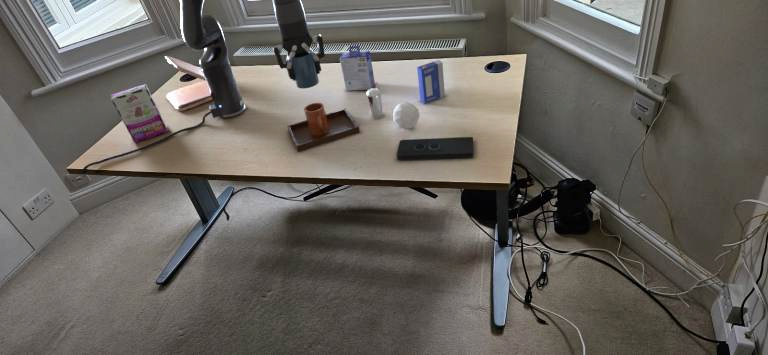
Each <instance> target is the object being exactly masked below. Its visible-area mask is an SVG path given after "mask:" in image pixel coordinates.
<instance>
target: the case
mask: <svg viewBox="0 0 768 355" xmlns="http://www.w3.org/2000/svg"><path fill="white" fill-rule="evenodd" d="M164 58H165V59H166V60H167V62H168V64H169V65H170V66H173V67H174V68H175V69H176V70H178V71H179V72H180V73H183V74H187V75H190V76H192V77H194V78H197V79H200V80H201V81H198V82H195V83H192V84H189V85H185V86H183V87H181V88H178V89H175V90H171V91H169V92H168V93H167V94H166V99H167V100H168V101H169V102H170V104H171V105H172V106H173V108H174V109H175V110H176V111H177V112H184V111H187V110H189V109H193V108H195V107H198V106H200V105H203V104H205V103H208V102H211V101H213V99H212V97H211V94H210V90H209V87H208V84H207V82H206V79H205V77H204V74H203V72H202V69H201V67H199V66H197V65H194V64H191V63H188V62H186V61H183V60H181V59H177V58H175V57H172V56H170V55H165V56H164Z"/></svg>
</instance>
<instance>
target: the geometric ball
mask: <svg viewBox="0 0 768 355" xmlns="http://www.w3.org/2000/svg"><path fill="white" fill-rule="evenodd" d="M392 119H393V123H394V124H395V125H396V126H397V127H398V128H401V129H404V130H409V129H413V128H414V127H415V126H416V125H417V124H418V123H419V119H420V111H419V108H418V107H417V106H416V105H415V104H414V103H411V102H408V101H404V102H400V103H398V104H397V105H396V106H395V107H394V108H393V111H392Z"/></svg>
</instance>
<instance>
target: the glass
mask: <svg viewBox="0 0 768 355" xmlns="http://www.w3.org/2000/svg"><path fill="white" fill-rule="evenodd" d="M289 56H290V55H289ZM291 67H292V68H293V72H294V76H295V79H296V80H295V81H294V82H295V85H296V87H297V88H299V89H310V88H313V87H315V86H317V85H319V83H320V79H319V74H317V70H316V66H315V62H314V59H313V56H312V54H311V53H310V54H309V53H308V52H307V53H306V54H304V55H299V56H297V57H295V56H294V58H292V66H291Z"/></svg>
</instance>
